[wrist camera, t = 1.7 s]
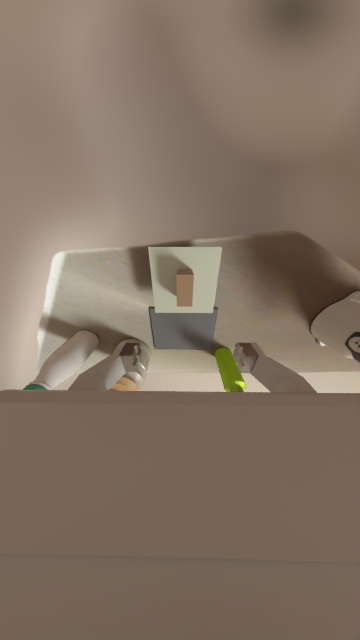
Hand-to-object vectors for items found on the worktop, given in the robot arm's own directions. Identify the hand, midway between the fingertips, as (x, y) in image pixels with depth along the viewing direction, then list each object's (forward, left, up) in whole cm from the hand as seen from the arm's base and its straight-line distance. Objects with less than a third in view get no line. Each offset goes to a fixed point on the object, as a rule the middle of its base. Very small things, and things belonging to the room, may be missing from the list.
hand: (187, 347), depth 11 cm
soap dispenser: (-15, +27, -27) cm, 41 cm away
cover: (0, 0, -21) cm, 21 cm away
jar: (+18, +27, -27) cm, 42 cm away
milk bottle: (+33, +21, -27) cm, 48 cm away
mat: (0, +17, -27) cm, 32 cm away
